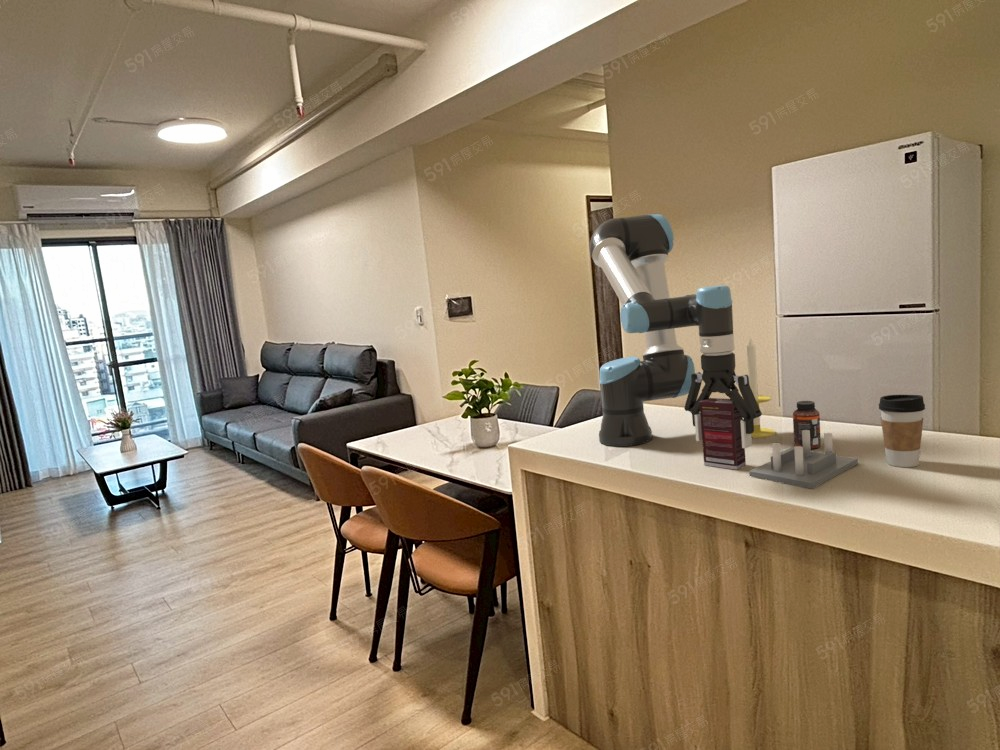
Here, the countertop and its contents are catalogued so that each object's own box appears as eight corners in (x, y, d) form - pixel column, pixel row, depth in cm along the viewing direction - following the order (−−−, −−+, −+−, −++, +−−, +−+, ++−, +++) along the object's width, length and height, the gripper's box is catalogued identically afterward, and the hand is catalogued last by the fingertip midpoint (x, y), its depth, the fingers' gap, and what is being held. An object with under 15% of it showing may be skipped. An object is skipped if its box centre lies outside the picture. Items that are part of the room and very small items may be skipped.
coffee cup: (911, 471, 128) (910, 401, 126) (871, 463, 135) (869, 397, 133) (934, 462, 132) (933, 394, 129) (894, 455, 139) (892, 390, 137)
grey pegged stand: (749, 476, 136) (747, 445, 135) (796, 454, 148) (795, 425, 147) (812, 488, 125) (810, 455, 124) (857, 463, 136) (857, 432, 135)
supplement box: (746, 464, 144) (743, 398, 142) (737, 470, 141) (733, 403, 139) (712, 459, 151) (708, 396, 148) (702, 465, 147) (698, 401, 145)
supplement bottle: (824, 449, 149) (822, 403, 147) (797, 450, 150) (795, 405, 149) (816, 442, 155) (814, 398, 153) (791, 443, 156) (789, 400, 154)
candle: (739, 438, 165) (733, 340, 161) (734, 429, 175) (728, 336, 171) (779, 436, 163) (774, 336, 159) (771, 427, 173) (766, 333, 169)
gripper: (665, 354, 150) (671, 440, 153) (755, 356, 130) (761, 454, 133) (684, 349, 154) (690, 433, 157) (775, 351, 134) (780, 446, 137)
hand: (723, 443), depth 145 cm, fingers open, 12 cm apart
